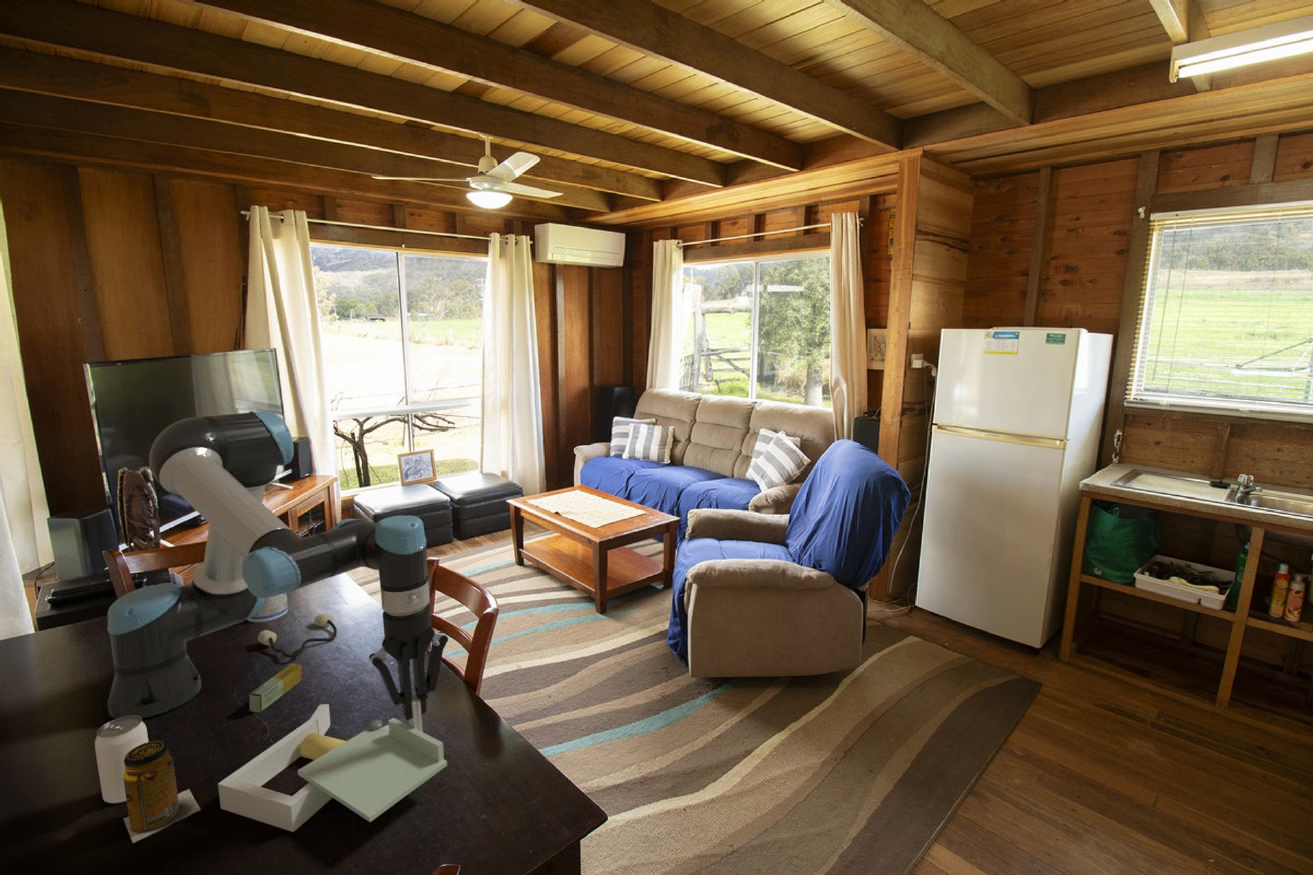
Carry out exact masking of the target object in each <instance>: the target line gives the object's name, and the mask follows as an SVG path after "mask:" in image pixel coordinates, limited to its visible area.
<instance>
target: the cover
mask: <svg viewBox="0 0 1313 875" xmlns="http://www.w3.org/2000/svg"><path fill="white" fill-rule="evenodd" d="M388 725H389V730H387V729H385V728H383V727H384V726H383V721H382V720H381V719H373V720H371V721H370V722H368V723H367V729H365V730H364V731H361V732H360V733H359V734H356V735H355V736H353V737H352V738H349V739H348V740H345V741H346V742H345V743H343V744H341V745H340V746H338V747H336V748H334V749H333V750H331V751H329V752H328V753H326V754H324V755H323V756H321V757H319V758H318V759H316V760H312V761H311V762H309V763H308V764H306V765H304V766H303V767H301V768H299V769H297V775H298V776H299V777H300V778H302V779H304V780H305V781H307V783H309V782H310V783H311V784H313V785H314V786H316V787H317V788H319V789H320V790H322V791H323V792H325V793H326V794H328V795H329V796H331V797H333V798H332V799H334V800H336V801H337V802H339V803H340V804H342V805H343V806H345V807H346V808H348V809H349V810H351V811H353V813H356V814H357V815H358V816H360V817H362V818H363V819H365V820H366V821H368V822H369V823H371V822H372V821H374V820H375V819H376V818H378V817H379V816H381V815H382V814H384V813H385V812H386V811H387V810H389V809H390V808H391V807H393V806H394V805H395V804H396V803H398V802H400V801H401V800H402V799H403V798H405V797H406V796H407V795H410V793H412V792H413V791H414V790H416V789H417V788H419V787H420V786H421V785H422V784H424V783H425V782H426V781H428V780H429V779H431V778H432V777H433V776H434V775H437V773H439V772H440V771H441V770H444V768H445V767H447V766H448V761H447V760H446V759H445V758H444V756H445V755H444V742H443V741H441V740H438V739H437V738H434V737H433V736H431V735H428V734H427V733H425V732H424V731H423V732H421V731H419V730H417V729H415V728H413V727H411V726H410V724H409V725H408V724H407V723H405V722H403V721H401V720H399V719H397V718H395V717H392V718H391V719H388Z"/></svg>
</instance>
